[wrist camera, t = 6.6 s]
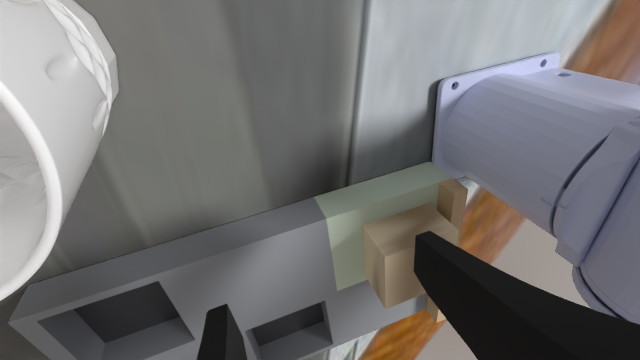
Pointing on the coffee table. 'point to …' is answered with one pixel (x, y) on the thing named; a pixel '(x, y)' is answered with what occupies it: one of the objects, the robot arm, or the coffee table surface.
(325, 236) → the board
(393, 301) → the maple block
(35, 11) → the white cup
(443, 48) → the coffee table surface
